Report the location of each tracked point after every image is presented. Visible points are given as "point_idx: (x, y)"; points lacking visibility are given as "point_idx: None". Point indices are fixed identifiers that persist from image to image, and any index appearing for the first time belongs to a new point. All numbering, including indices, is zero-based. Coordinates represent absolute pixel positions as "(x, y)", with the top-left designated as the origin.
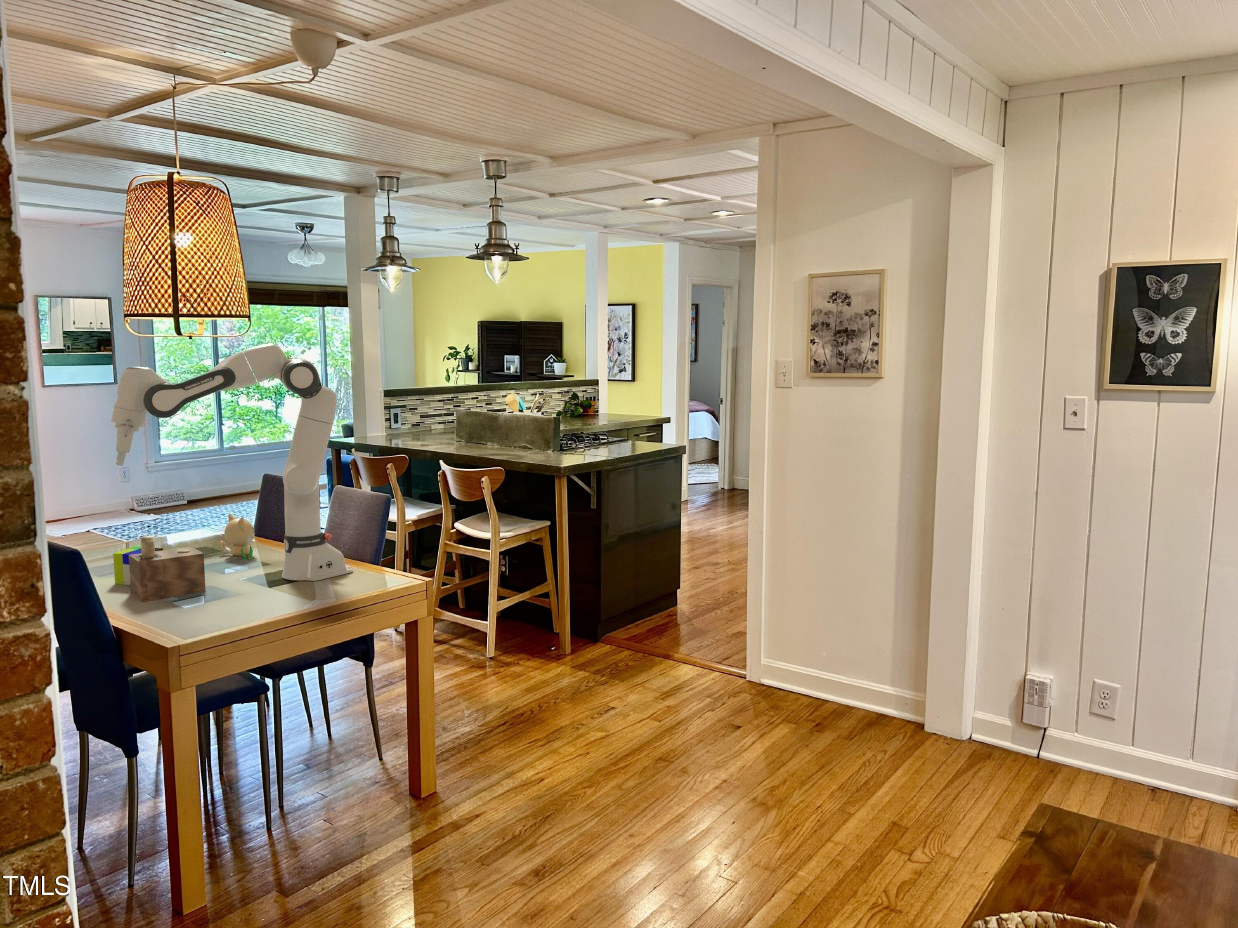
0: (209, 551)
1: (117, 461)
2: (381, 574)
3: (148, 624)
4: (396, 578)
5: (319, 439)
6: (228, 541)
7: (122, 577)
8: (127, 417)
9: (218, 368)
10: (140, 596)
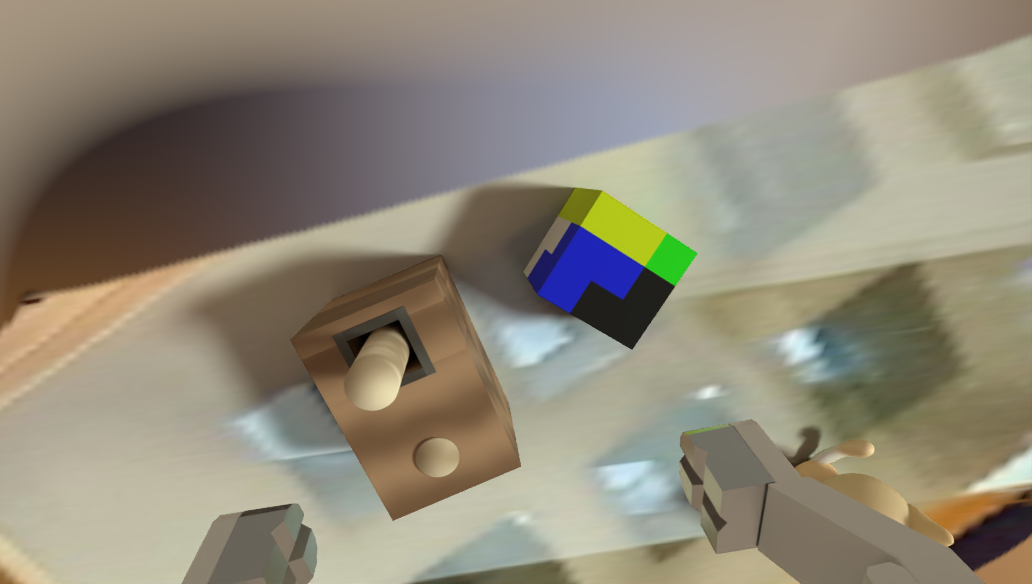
0: (890, 391)
1: (199, 562)
2: None
3: (79, 358)
4: None
5: None
6: (822, 482)
7: (564, 213)
8: None
9: None
10: (337, 300)
